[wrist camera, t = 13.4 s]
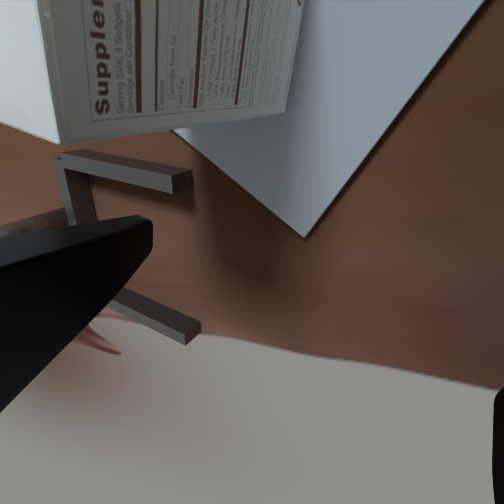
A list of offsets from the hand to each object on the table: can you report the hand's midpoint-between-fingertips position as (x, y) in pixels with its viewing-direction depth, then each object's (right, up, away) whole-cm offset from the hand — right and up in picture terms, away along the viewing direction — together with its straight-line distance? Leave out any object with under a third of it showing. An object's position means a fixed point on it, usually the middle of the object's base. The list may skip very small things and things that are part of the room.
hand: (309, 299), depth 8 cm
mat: (0, +11, +9) cm, 15 cm away
